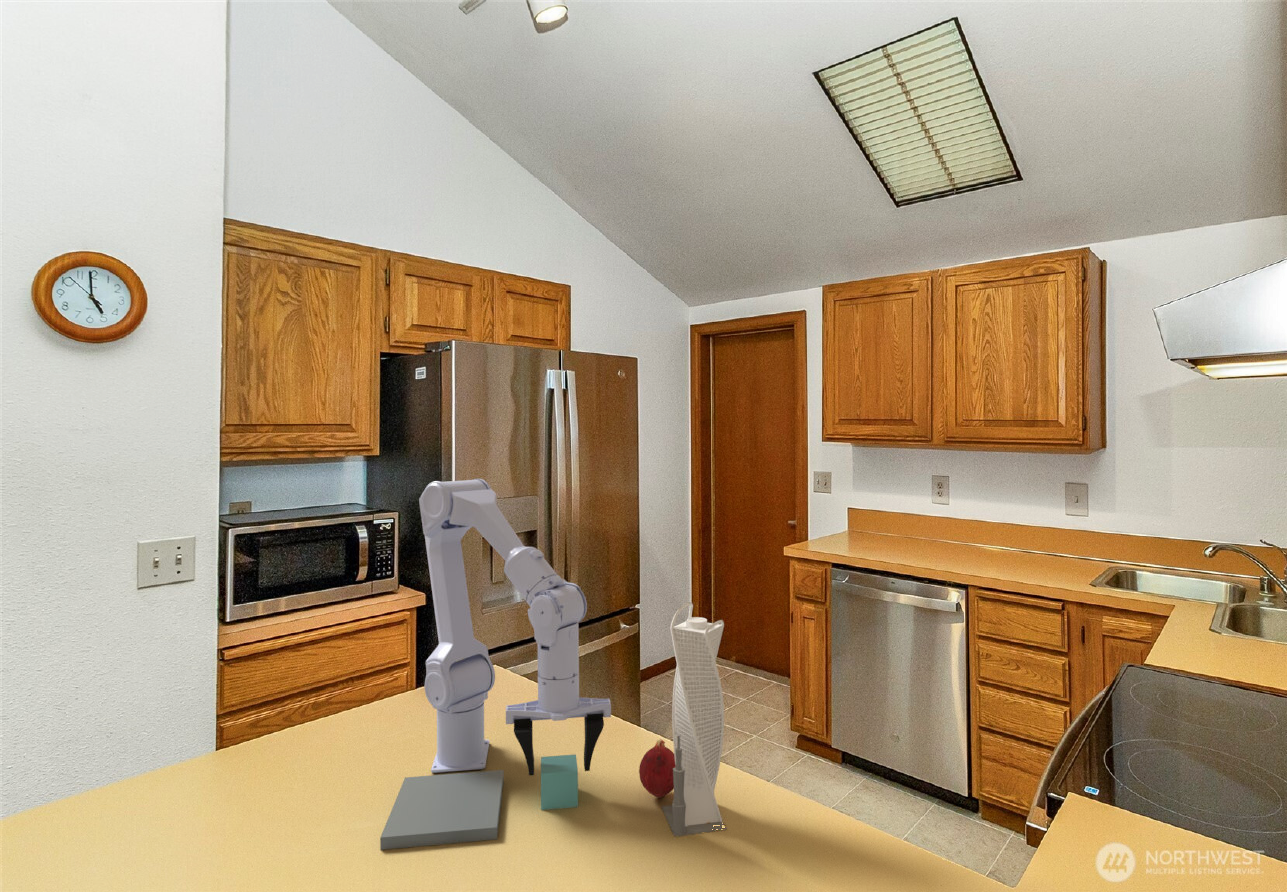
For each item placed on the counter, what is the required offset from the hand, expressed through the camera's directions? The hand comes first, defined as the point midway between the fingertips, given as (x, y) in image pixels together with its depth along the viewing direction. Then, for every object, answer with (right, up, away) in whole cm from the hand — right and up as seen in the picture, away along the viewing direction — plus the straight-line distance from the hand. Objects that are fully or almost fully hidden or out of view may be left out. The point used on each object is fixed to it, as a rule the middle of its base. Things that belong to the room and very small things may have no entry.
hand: (559, 769), depth 94 cm
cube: (0, -4, 0) cm, 4 cm away
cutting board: (-15, -4, -3) cm, 16 cm away
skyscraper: (+19, -5, -4) cm, 20 cm away
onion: (+14, -4, 0) cm, 15 cm away
